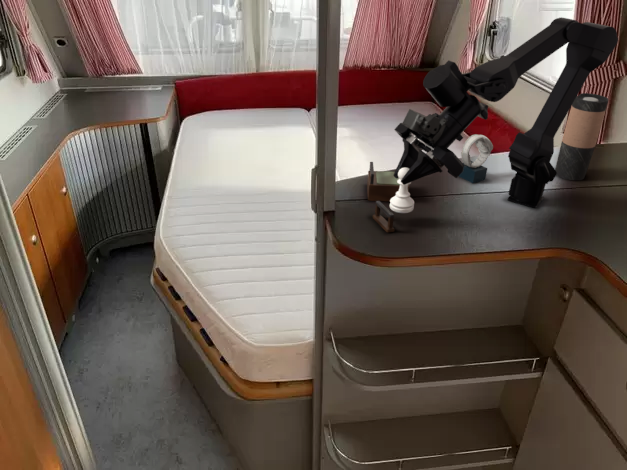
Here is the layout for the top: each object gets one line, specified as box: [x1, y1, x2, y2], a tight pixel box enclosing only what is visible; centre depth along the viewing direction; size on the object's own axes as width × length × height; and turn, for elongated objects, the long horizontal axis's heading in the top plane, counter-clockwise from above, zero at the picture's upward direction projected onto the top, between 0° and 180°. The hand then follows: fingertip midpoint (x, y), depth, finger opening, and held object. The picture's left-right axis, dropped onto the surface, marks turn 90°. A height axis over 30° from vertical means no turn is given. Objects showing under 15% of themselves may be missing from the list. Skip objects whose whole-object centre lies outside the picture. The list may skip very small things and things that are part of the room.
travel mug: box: [554, 92, 609, 181], centre depth 131 cm, size 8×8×20 cm
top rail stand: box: [366, 161, 410, 202], centre depth 122 cm, size 9×8×6 cm
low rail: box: [372, 201, 395, 234], centre depth 110 cm, size 7×2×4 cm, turn 21°
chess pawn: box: [389, 167, 415, 214], centre depth 108 cm, size 5×5×9 cm
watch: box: [458, 133, 494, 184], centre depth 130 cm, size 6×8×11 cm
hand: (398, 180), depth 107 cm, fingers closed on chess pawn, 3 cm apart
